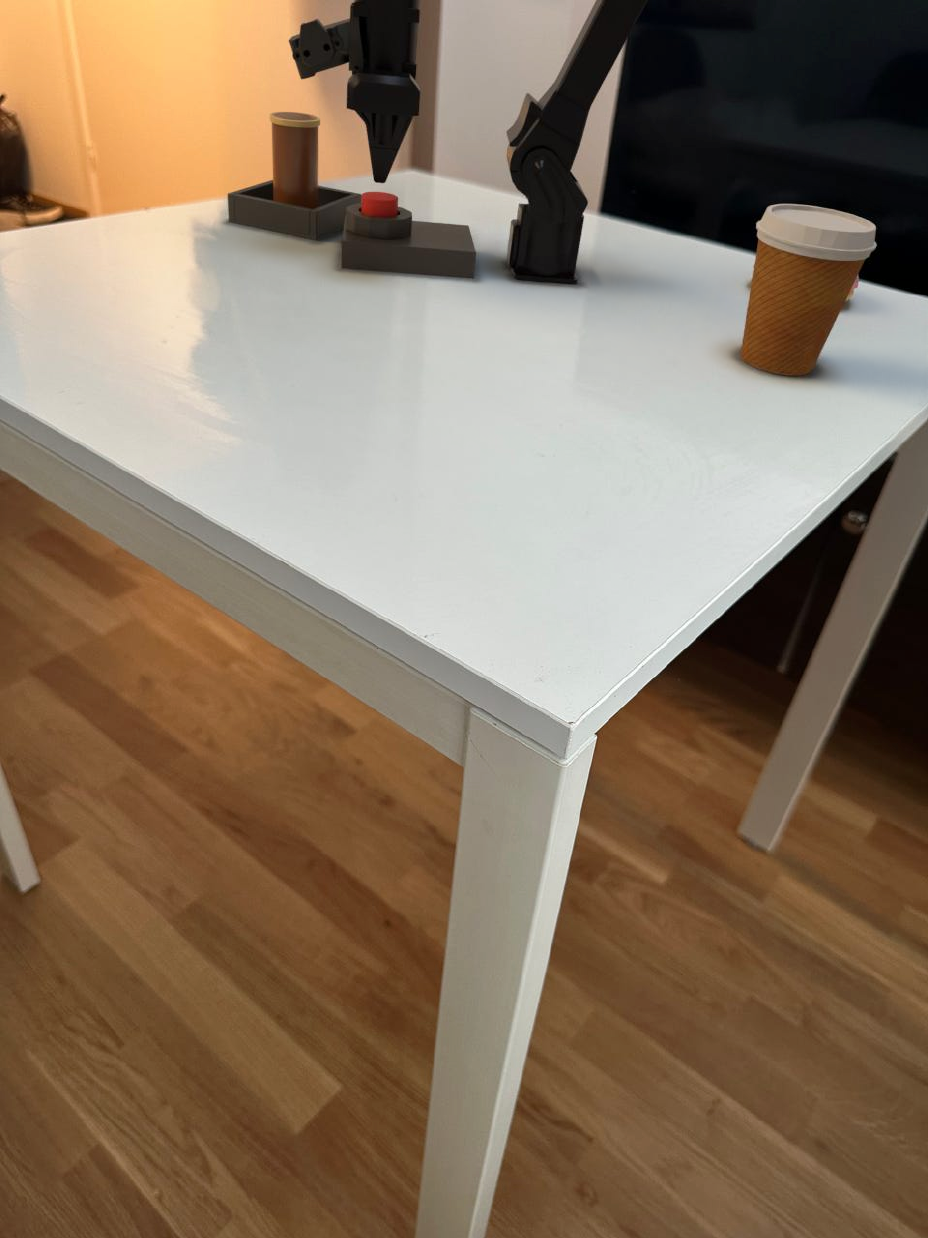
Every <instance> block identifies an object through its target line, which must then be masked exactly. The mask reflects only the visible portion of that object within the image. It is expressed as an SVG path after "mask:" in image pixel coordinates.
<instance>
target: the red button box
mask: <svg viewBox="0 0 928 1238" xmlns="http://www.w3.org/2000/svg"><path fill="white" fill-rule="evenodd" d="M361 203H362V202H361ZM361 203H358V204H354V205H351V206H347V210H346V215H345V222H344V229H342V230H343V231H342V237H341V262H340V263H341V264H340V265H341V266H340V267H341V269H342V270H356V271H366V272H367V271H368V272H380V273H394V274H405V275H406V274H408V275H418V276H430V277H431V276H433V277H444V278H456V279H457V278H458V279H470V280H474V278H475V277H474V276H475V265H476V255H477V251H476V248H475V244H474V240H473V236H472V234H471V230H470V226H469V225H468V224H467V225H466V224H455V223H445V222H444V223H443V222H431V221H420V220H413V212H412V211H410V210H408V209H407V208H405V207H402V206H398V214H397V216H395V217H379V216H371V215H367V214H363V213H361Z"/></svg>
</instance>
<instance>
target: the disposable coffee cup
mask: <svg viewBox="0 0 928 1238" xmlns="http://www.w3.org/2000/svg"><path fill="white" fill-rule="evenodd" d="M755 224H756V225H755V229H756V230H757V232H756V237H757V238H758V240H757V246H756V247H757V248H756V252H755V253H756V254H755V259H754V264H753V266H754V267H753V270H752V278H751V285H750V290H749V297H748V303H747V309H746V317H745V322H744V329H743V337H742V343H741V349H740V354H739V355H740V358H741V359H742V361H744V362H745V363H747V364H748V365H750V366H752V367H754V368H756V369H759V370H762V371H765V372H768V373H771V374H777V375H783V376H784V375H785V376H803V375H804V376H805V375H807V374H809V373H812V372H813V370H814V368H815V365H816V364H817V361H818V359H819V357H820V354H821V353H822V350H823V349H824V346H825V344H826V343H827V340H828V338H829V336H830V334H831V331H832V330H833V328H834V326H835V323H836V322H837V320H838V317H839V315H840V313H841V312H842V311H841V310H842V309H843V307H844V305H845V302H847V301H846V299H847V296H848V294H849V292H850V290H851V288H852V286H853V284H854V282H855V279H856V278H857V276H859V273H860V271H861V269H862V267H863V265H864V263H865V261H866V259H867V258H870V255H871V253H872V252H874V251H875V250H876V247H877V246H878V244H877V242H876V241H875V240H876V239H875V238H876V231H877V226H876V225H875V224H874V223H873V222H872V221H870V220H867V219H866V218H863V217H860V216H858V215H855V214H852V213H849V212H846V211H845V212H844V211H842V210H841V211H840V210H837V209H833V208H827V207H821V206H816V205H808V204H799V203H798V204H797V203H777V204H772V205H769V206H767V207H766V209H765V211H764V213H763V215H762V217H761V219H760V220H757V222H756V223H755Z"/></svg>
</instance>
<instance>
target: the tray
mask: <svg viewBox="0 0 928 1238" xmlns="http://www.w3.org/2000/svg"><path fill="white" fill-rule="evenodd" d="M362 194H363V193H362ZM362 194H361V193H358V192H353V191H347V190H343V189H337V188H333V187H328V186H322V185H318V208H315V209H310V208H305V207H301V206H296V205H291V204H286V203H281V202H276V201H273V179H270V180H268V181H263V182H261V183H257V184H255V185H251V186H248V187H244V188H241V189H238V190H235V191H231V192H227V209H228V223H231V224H235V225H240V226H245V227H250V228H255V229H259V230H262V231H263V230H264V231H268V232H273V233H277V234H282V235H286V236H290V237H291V236H292V237H295V238H301V239H305V240H309V241H315V242H317V241H320V240H322V239H324V238H327V237H329V236H331V235H334V234H335V233H338V232H340V231H342V230H343V229H344V222H345V215H346V210H347V206H351V205H354V204H358V203H362Z"/></svg>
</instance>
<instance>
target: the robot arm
mask: <svg viewBox="0 0 928 1238" xmlns="http://www.w3.org/2000/svg"><path fill="white" fill-rule="evenodd" d="M420 1H421V0H354V1H353V2H351V4H350V7H349V18H345V19H343V20H339V21H336V22H332V23H329V24H325V25H323V23H322V22H321V21H320V20H319V18H315V19H314V20H311V21H307V22H302V23H301V24H300V26H299V27H300V29H299V33H297V34H295V35H292V36H291V37H290V38H289V39H288V43H289V46H290V50H291V52H292V53H291V54H292V55H291V57H292V59H293V60H294V62H295V66H296V69H297V72H298V75H299V79H300V80H307V79H310V78H313V77H315V76H316V75H317V73H321V72H323V71H327V70H330V69H335V68H336V67H339V66H343V65H345V64H348V71H350V72H351V75H350V77H348V79H347V81H346V109H347V110H351V111H354V112H355V113H356V114H357V115H358V117H359V118H360V119H361V120H362V122H363V123H364V124H365V128H366V135H367V142H368V149H369V156H370V157H369V158H370V163H371V170H372V177H373V181H374V183H377V184H385V183H386V182H387V180H388V177H389V174H390V172H391V170H392V168H393V165H394V163H395V160H396V158H397V156H398V153H399V151H400V149H401V147H402V144H403V142H404V140H405V138H406V135H407V132H408V130H409V128H410V126H411V123H412V121H413V118H414V117H419V116H420V101H421V88H420V85H419V83H417V81H416V79H417V68H418V67H417V66H418V63H417V50H418V36H419V35H418V33H419V24H420V16H421V15H420V14H421V8H420ZM648 1H649V0H595V2H594V4H593V6H592V8H591V9H590V11H589V14H588V15H587V16H586V20H585V21H584V23H583V25H582V27H581V29H580V31H579V33H578V35H577V37H576V39H575V41H574V43H573V45H572V47H571V48H570V51H569V53H568V55H567V57H566V58H565V60H564V63H563V65H562V66H561V68H560V71H559V72H558V74H557V76H556V78H555V79H554V82H553V83H552V84H551V86H550V87H549V88H548V89H547V91H546V92H545V93H544V94H543V95H542V96H541V97H540V99H539V100H537V99H536V98H535V97H534V96H533V95H531V93H530V92H526V94H525V96H524V99H523V101H522V104H521V108H520V111H519V113H518V116H517V119H516V120H515V121H514V123H513V125H512V126H510V127H509V128H508V129H507V130H506V132H505V133H506V137H507V142H508V145H507V148H506V162H507V165H508V170H509V173H510V178H511V181H512V183H513V185H514V186H515V188H516V189H517V191H519V192H520V193H521V194H522V195H523V196H525V199H526V200H527V203H518V208H517V215H516V219H515V218H514V219H512V220H511V221H510V226H509V235H508V244H507V251H506V263H507V265H508V266H507V267H509V269H510V270H511V272H512V275H513V278H514V279H516V280H522V281H535V282H547V283H559V284H572V285H574V284H576V285H577V284H578V282H579V278H578V275H577V274H576V269H577V263H578V257H579V252H580V251H579V249H580V245H581V238H582V232H583V228H584V227H583V226H584V220H585V215H584V213H585V210H586V209H587V207H588V205H589V200H588V199H587V196H586V195H585V192H584V190H583V189H582V187H581V184H580V182H579V181H578V180H577V177H575V175H574V174H573V172H572V168H573V166H574V163H575V160H576V157H577V155H578V151H579V149H580V147H581V142H582V139H583V136H584V131H585V127H586V124H587V120H588V117H589V113H590V110H591V108H592V105H593V103H594V102H595V99H596V97H597V96H598V94H599V92H600V90H601V88H602V86H603V85H604V83H605V81H606V79H607V77H608V75H609V73H610V72H611V70H612V68H613V66H614V65H615V62H616V60H617V58H618V57H619V55H620V53H621V51H622V49H623V47H624V46H625V43H626V42H627V40H628V38H629V37H630V35H631V32H632V31H633V28H634V27H635V25H636V24H637V21H638V19H639V18H640V16H641V14H642V13H643V10H644V8H645V6H646V4H647V3H648Z"/></svg>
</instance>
